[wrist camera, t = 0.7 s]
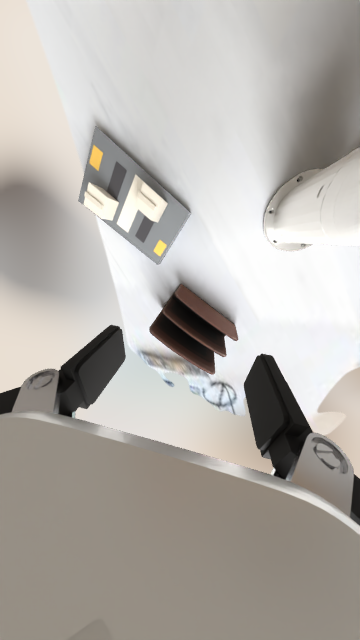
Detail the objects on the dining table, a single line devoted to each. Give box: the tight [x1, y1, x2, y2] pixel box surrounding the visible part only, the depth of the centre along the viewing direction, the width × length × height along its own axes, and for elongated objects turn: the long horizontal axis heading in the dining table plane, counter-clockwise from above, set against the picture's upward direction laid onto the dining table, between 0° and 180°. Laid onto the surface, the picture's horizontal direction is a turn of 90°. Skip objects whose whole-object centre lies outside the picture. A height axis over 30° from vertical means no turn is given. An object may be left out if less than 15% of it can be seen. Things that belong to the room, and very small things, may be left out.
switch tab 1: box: [84, 182, 119, 221], centre depth 30 cm, size 4×4×5 cm
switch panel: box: [78, 126, 191, 265], centre depth 32 cm, size 13×22×2 cm, turn 53°
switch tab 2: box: [134, 183, 168, 223], centre depth 28 cm, size 4×4×5 cm
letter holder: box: [149, 284, 238, 374], centre depth 37 cm, size 10×20×14 cm, turn 55°
